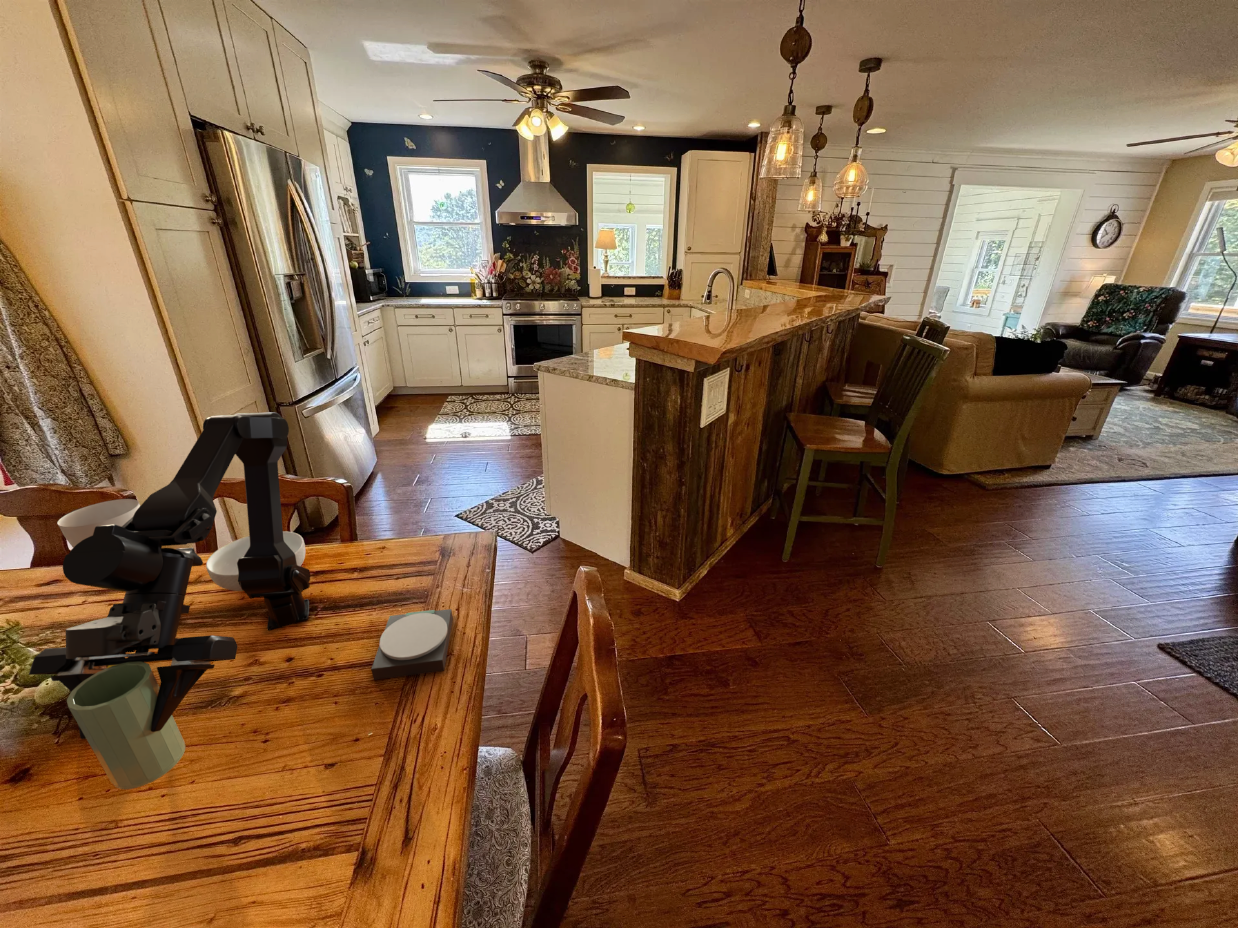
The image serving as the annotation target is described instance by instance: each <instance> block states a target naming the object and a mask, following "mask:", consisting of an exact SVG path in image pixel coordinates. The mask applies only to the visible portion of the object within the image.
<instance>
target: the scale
mask: <svg viewBox="0 0 1238 928" xmlns="http://www.w3.org/2000/svg"><path fill="white" fill-rule="evenodd" d="M453 621H454V616H453V610H452V608H449V609H440V610H439V609H438V610H435V609H430V610H429V609H428V610H422V611H421V610H420V611H411V612H406V613H402V614H395V615H389V616H388V620H387V621H386V625H385V628H384V631H383V632H382V634H381V635H380V638H379V646H378V648H377V651H376V654H375V657H374V660H373V663H372V665H371V668H370V670H371V674H372V679H373V681H376V680H384V679H385V680H386V679H393V678H400V677H408V676H414V675H415V676H416V675H422V674H430V673H438V672H444V671H445V668H446V662H447V656H448V650H449V645H450V640H451V639H450V637H451V633H452V626H453Z"/></svg>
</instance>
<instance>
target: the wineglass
mask: <svg viewBox="0 0 1238 928" xmlns="http://www.w3.org/2000/svg"><path fill="white" fill-rule="evenodd" d="M140 506H141V504H140V501H138V500H137V499H134V498H120V499H113V500H107V501H102V502H97V503H95V504H89V505H88V506H87V505H86V506H84V507H81V508H77V509H75V510H73V511H71V512H69V513H67V514H65V515H63V516H62V517H61V518H59V519H58V520H57V525H58V527H59V529H60V531H61V533H62V535H63V537H64V538H65V539H66V541H67V542H68V543H69V545H70V546H71V547H72V549H73V548H74V547H75V546H76V545H77V544H78V543H79V542H81V541H82V540H84V539H86V538H88V537H90V536H93V533H94V529H95V527H96V526H101V525H118V526H121V527H122V526H123V525H124V524H125V523H126V522H128V521H129V520H130V519H131V518H132V517H133V516H134V513H135V512H136V511H137V509H138V508H139V507H140Z"/></svg>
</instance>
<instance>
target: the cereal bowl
mask: <svg viewBox="0 0 1238 928" xmlns="http://www.w3.org/2000/svg"><path fill="white" fill-rule="evenodd" d="M283 539H284V542H285V543H286V544H287V545H288V546H289V548H290V549H291V550H292V551H293V552H294V553H295V556H296V562H297V565H298V566H301V567H302V565H303V563H304V561H305V558H306V553H307V552H306V544H305V540H304V538H303V537H302V535H300V534H299V533H296V532H293V531H284V530H283ZM249 547H250V537H249V535H248V536H244V537H241V538H238V539H235V540H233V541H231V542H229V543H227V544H225V545H223V546H222V547H220V548H218V549H217V550H215V551H214V552H213V553H212V554H211V555H210V556H208V559H207V561H206V563H205V567H206V571H207V573H208V576H209V578H210V579H211V581H212V582H213V583H214V584H215V585H216V586H218V587H219V588H222V589H225V590H228V591H232V592H244V590H242V589H241V587H240V585H239V582H238V576H239V572H238V566H237V562H238V560H239V558H243V557H244V555H245V554H246V552H247V550H248V549H249Z"/></svg>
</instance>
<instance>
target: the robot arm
mask: <svg viewBox="0 0 1238 928" xmlns="http://www.w3.org/2000/svg"><path fill="white" fill-rule="evenodd" d="M289 432H290V428H289V424H288V421H287V420H286V419H285V418H283V417H282V416H281V415H280V414H279V413H278V412H276V411H273V412H272V411H271V412H266V411H265V412H239V413H234V414H223V415H212V416H210V417H206V418H205V419H204V420H203V423H202V432H201V433H200V434H199V436H198V438H197V439H196V441H195V443H194V444H193V446H192V448H191V449H190V451H189V453H188V454H187V456H186V457H185V459H184V461H183V462H182V464H181V466H180V468H179V469H178V471H177V472H176V474H175V476H174V477H173V479H172V480H171V481H170V482H169V483H168V484H167V485H165V486H163V487H161V488H160V489H158V490H155V492H153V493H151V494H150V495H149V496H148V497H146V499H145V500H144V501H143V503H141V504H140V507H139V508H138V509H137V511H136V512H135V513H134V516H133V517H132V518H131V519H130V520H129V521H128V522H126V523H125V524H124V525H123V526H122V527H121V526H118V525H101V526H96V527H95V529H94V533H93V536H90V537H88V538H86V539H84V540H82V541H81V542H79V543H78V544H77V545H76V546H75V547H74V548H73V547H72V548H71V550H70V551H69V552H68V553H67V554H66V555H64V558H63V561H62V572H63V573H62V574H63V575H64V577H65V578H66V579H67V580H68V581H69V582H71V583H73V584H76V585H82V586H86V587H92V588H93V587H94V588H98V589H106V590H111V591H117V592H125V593H124V597H123V599H122V602H120V603H113V604H112V606H111V607H110V608H109V610H108V614H107V616H106V617H103V618H99V619H95V620H92V621H88V622H85V623H82V624H78V625H75V626H71V627H68V628H66V629H65V647H52V648H44V649H43V650H42V651H41V652H39V653H38V654H37V655H36V656H34V658H33V660H32V663H31V666H30V669H29V672H28V676H37V675H38V676H39V675H41V676H42V675H51V676H50V679H51V681H52V682H60V683H61V684H62V685H63V686H64V687H66V688H67V689H68V690H69V692H70V693H71V692H72V691H73V690H74V689H75V688H76V687H77V686H78V685H79V684H80V683H81V682H83V681H84V680H86V679H87V678H89V677H91V676H92V675H94V674H96V673H97V672H100V671H102V670H104V669H107V667H108V666H109V665H118V664H122V663H126V662H136V661H141V662H144V663H153V662H154V663H155V662H166V661H171V662H170V665H164V666H156V670H157V674H158V677H159V680H160V685H159V687H160V688H159V693H158V697H157V701H156V705H155V709H154V713H153V718H152V726H151V731H152V732H156V731H160V730H161V729H162V728H163V727H164V725H165V724H166V722H167V721H168V720H169V718H170V717H171V715H172V716H173V714H174V713H175V711H176V710H177V709H178V707H179V705H180V704H181V703H182V701H183V700H184V698H185V697H186V696H187V695H188V693H189V692H190V690H191V689H192V688H193V687H194V686H195V685H196V684H197V682H198V681H199V680H200V679H201V678H202V677H203V675H204V674H205V673H206V672H207V671H208V670H213V669H215V665H216V664H213V662H223V661H225V662H226V661H234V660H236V657H237V653H238V648H239V647H238V643H237V641H236V639H235V638H234V636H224V635H213V634H211V635H199V636H198V635H197V636H186V637H177V633H178V629H179V625H180V620H181V616H182V615H188V614H189V613H190V608H191V605H188V604H185V603H184V602H185V598H186V595H187V589H188V586H189V582H190V577H191V576H190V575H191V572H192V568H193V567H201V566H203V564H204V561H203V559H202V557H201V556H199V555H198V554H197V552H196V551H195V548H194V547H180V548H172V547H169V546H184V545H185V546H186V545H188V544H196V543H199V542H203V541H204V540H205V539H207V538H208V536H209V534H210V533H211V530H212V529H213V526H214V521H215V518H216V515H217V512H218V509H217V508H216V507H217V506H216V504H215V503H214V497H215V494H216V492H217V490H218V489H219V488H218V487H219V485H220V484H221V482H222V480H223V479H224V476H225V475H226V472H227V470H228V468H229V467H230V465H231V463H232V461H233V459H234V457H235V456H236V457H237V458H238V460H240V462H241V463H242V464H243V475H244V486H245V499H246V511H247V512H246V514H247V524H248V536H249V537H250V547H249V549H248V550H247V552H246V554H245V555H244V557H243V558H239V560H238V562H237V566H238V572H239V576H238V582H239V585H240V587H241V589H242V590H244V591H243V592H244V593H245V594H246V595H247V597H248V598H249V599H257V598H263V599H264V603H265V607H266V609H267V613H268V618H267V626H266V629H267V631H269V632H270V631H273V630H277V629H280V628H284V627H288V626H292V625H295V624H300V623H303V622H306V621H308V620H309V618H310V616H309V615H310V599H308V598H306V599H304V595H303V592H304V591H305V590H308V589H309V588H310V587H311V585H310V582H311V572H310V569H309V568H306V567H303V566H302V565H301V566H298V565H297V562H296V556H295V553H294V552H293V551H292V550H291V549H290V548H289V546H288V545H287V544H286V543H285V542H284V539H283V531H284V528H283V517H282V515H283V514H282V504H281V489H280V478H279V465H278V464H279V463H278V462H279V460H280V459H281V457H282V456H283V454H284V453H285V451H286V449H287V448H288V435H289ZM166 546H167V547H166ZM156 649H157V652H155V651H150V650H156ZM77 726H78V731H79V738H80V739H81V740H87V739H86V737H85V736H84V734H83V732H82V730H81V729H80V727H79V725H78V724H77Z"/></svg>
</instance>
